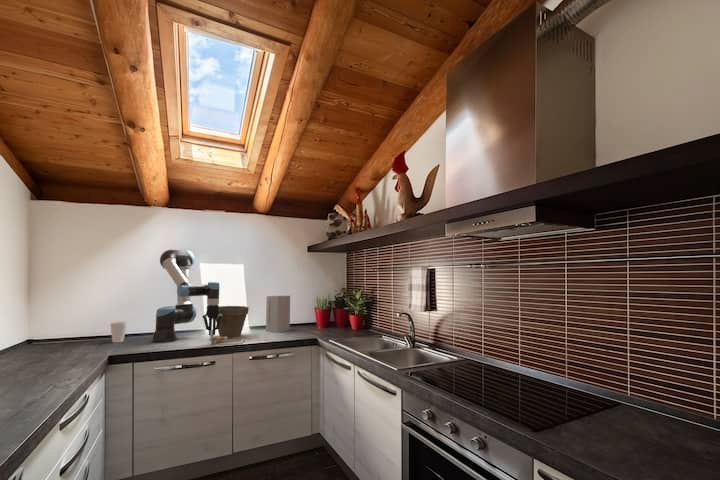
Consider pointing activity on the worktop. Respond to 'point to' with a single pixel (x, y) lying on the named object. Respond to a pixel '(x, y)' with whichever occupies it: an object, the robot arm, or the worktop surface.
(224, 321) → the plant pot
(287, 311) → the grey faceted cylinder
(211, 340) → the t block
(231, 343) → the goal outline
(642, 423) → the worktop surface
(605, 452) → the worktop surface
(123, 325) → the foam cup
